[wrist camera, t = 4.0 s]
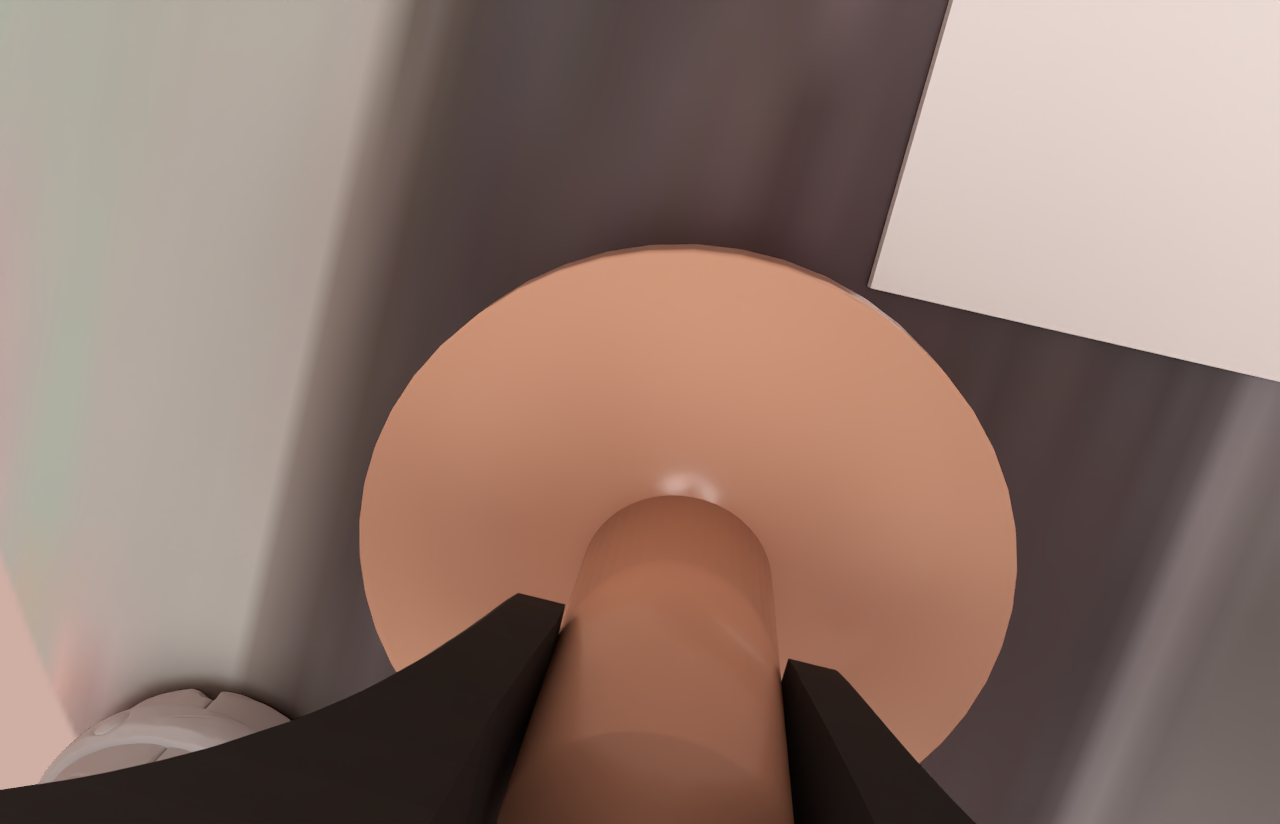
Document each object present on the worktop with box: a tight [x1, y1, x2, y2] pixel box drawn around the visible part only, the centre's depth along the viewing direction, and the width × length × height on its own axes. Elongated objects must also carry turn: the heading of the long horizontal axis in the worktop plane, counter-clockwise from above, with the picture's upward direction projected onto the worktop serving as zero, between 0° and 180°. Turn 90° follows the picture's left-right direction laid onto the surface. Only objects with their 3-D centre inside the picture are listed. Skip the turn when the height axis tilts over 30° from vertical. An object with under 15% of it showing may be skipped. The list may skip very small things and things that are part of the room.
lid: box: [360, 244, 1017, 824], centre depth 11 cm, size 10×10×6 cm
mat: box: [867, 0, 1280, 382], centre depth 17 cm, size 12×10×1 cm
